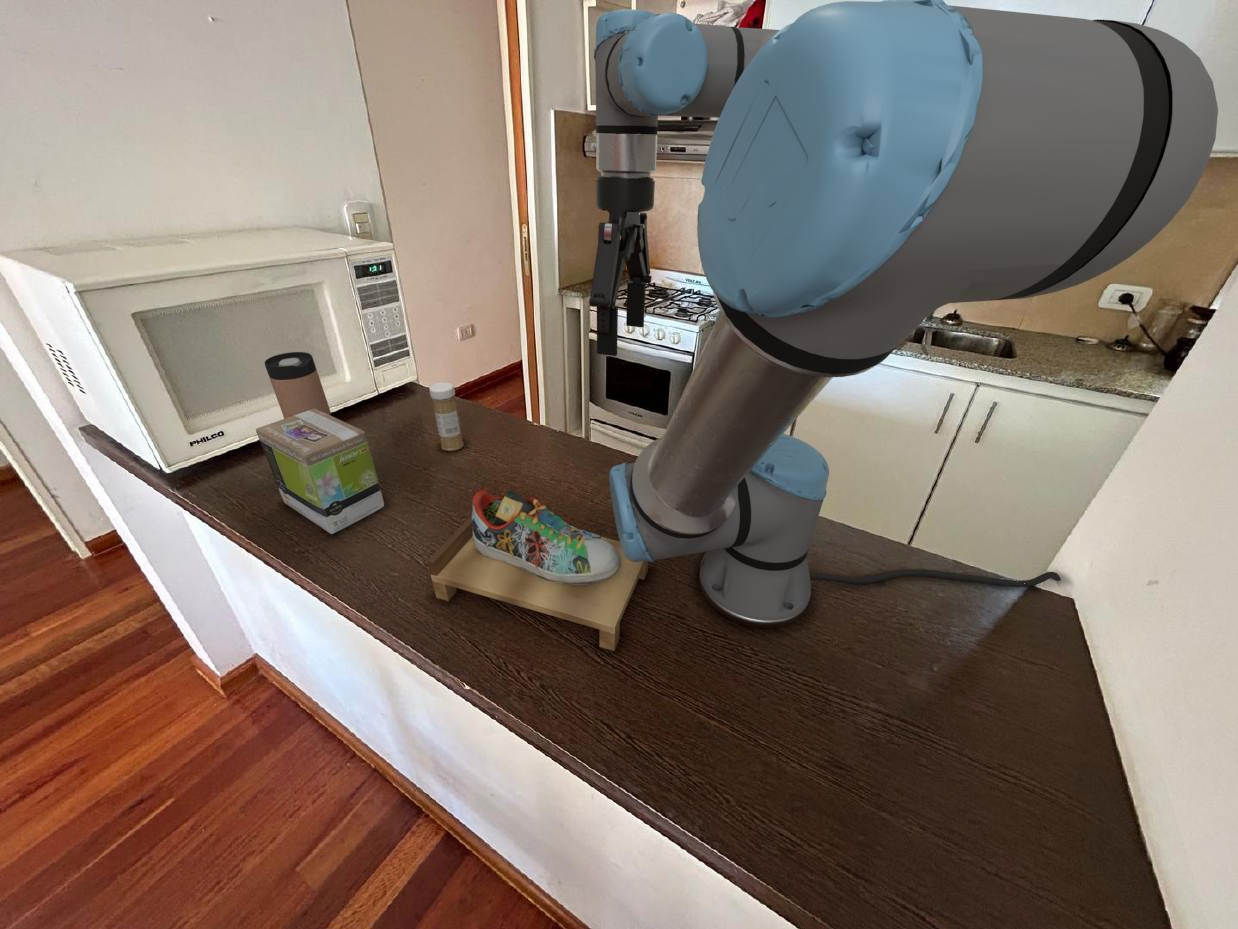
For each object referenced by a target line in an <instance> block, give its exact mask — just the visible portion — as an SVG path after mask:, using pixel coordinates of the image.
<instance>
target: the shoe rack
mask: <svg viewBox="0 0 1238 929" xmlns="http://www.w3.org/2000/svg"><path fill="white" fill-rule="evenodd" d="M472 527H473V524H472V514H471V515H469V517H468V518H467V519H466V520H465V521H464V522H463V523H462V525H460V526H459V527H458V528H457V530H455V531H454V532H453V533H452V534H451V536H449V538H448V539H447V540H446V541H444V543H443V544H441V546H440V547H439V548H438V549H437V550H436V551H435V552H434V553H433V554H432V555H431V556H430V557H429V558H428V559H427V560H426V561H427V566H428V570H429V574H430V577H431V582H432V586H433V590H434V594H435V598H436V599H439V600H443V601H446V602H449V601H451V599H452V598H453V597H454V596H455V594H456V593H457V589H458V590H462V591H465V592H470V593H472V594H476V595H480V596H483V597H486V598H490V599H492V600H496V601H500V602H504V603H507V604H510V605H514V606H517V607H521V608H524V609H528V610H531V611H535V612H538V613H541V614H545V615H548V616H552V617H555V618H558V619H562V620H566V621H569V622H571V623H572V622H573V623H575V624H579V625H582V626H585V627H590V628H593V629H595V630H599V632H598V633H599V642H598V644H599V648H603V649H606V650H609V651H612V652H615V651H616V649H617V646H618V644H619V642H620V631H621V630H620V629H621V620H622V618H623V616H624V613H625V611H626V609H627V606H628V604H629V603H630V600H631V597H632V595H633V592H634V590H635V588H636V586H637V584H638V581H639V580H643V581H644V580H645V579H646V576H647V574H648V572H649V561H643V562H632V561H630V560H628V559H627V558H626V557H625V555H624V553H623V551H622V548H621V544H620V540H615V539H611V538H608V537H603V536H601V539H602V540H605V541H607V542H609V543H610V544H611V545H613V546H614V547H615V548H616V549H617V551H618V552H619V555H620V559H621V566H620V568H619V570H618V571H617V572H616V574H615V575H614V576H612V577H611V578H609V579H608V580H605V581H602V582H599V583H594V584H587V585H574V584H565V583H555V582H551V581H547V580H544V579H542V578H539V577H537V576H535V575H533V574H531V573H529V572H527V571H526V570H524V569H522V568H520V567H517V566H514V565H512V564H509V563H506V562H504V561H500V560H495V559H492V558H490V557H487V556H484V555H483V554H482V553H480V552H479V551H478V550H477V548H476V547H475V545H474V542H473V530H472Z"/></svg>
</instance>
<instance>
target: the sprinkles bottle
mask: <svg viewBox="0 0 1238 929" xmlns="http://www.w3.org/2000/svg"><path fill="white" fill-rule="evenodd" d="M428 391H429V397H430V399H431V401H432V406H433V411H434V417H435V422H436V427H437V432H438V436H439V441H440V448H441V450H443V451H446V452H455V451H457V450H460V449H462V448H463V447H464V441H463V435H462V428H461V427H462V426H461V420H460V417H459V413H458V406H457V401H456V390H455V385H454V384H453V383H451V382H447V381H442V382H441V381H440V382H436V383H434V384H432V385H430V386H429V390H428Z"/></svg>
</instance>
